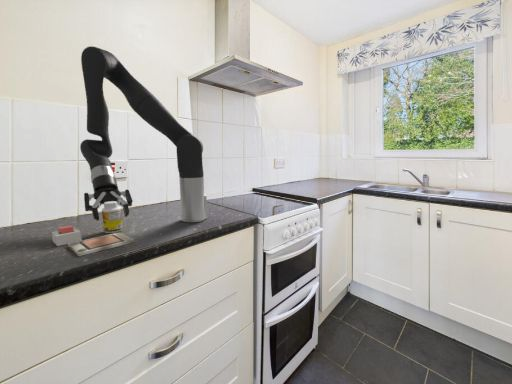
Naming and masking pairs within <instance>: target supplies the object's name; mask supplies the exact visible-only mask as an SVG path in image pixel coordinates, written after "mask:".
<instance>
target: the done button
mask: <svg viewBox="0 0 512 384" xmlns="http://www.w3.org/2000/svg"><path fill="white" fill-rule="evenodd" d="M57 228H58V231H59V234H65V233H70V232H74V231H73V228H74V226H73V225H71V224H69V225H63V226H58V227H57Z"/></svg>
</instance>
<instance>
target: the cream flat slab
mask: <svg viewBox="0 0 512 384" xmlns="http://www.w3.org/2000/svg"><path fill="white" fill-rule="evenodd" d="M132 243H135V239H134V238H132V237H130V236H128V235H127V234H126V235H125V234H124V233H121V231H120V232H117V233H108V234H106V235H101V236H95V237H92V238H88V239H82V241H78V242H73V243H68V244H67V247H68V248H69V249H70V250H71V251H73V252H74V253H75V255H77V256H78V257H82V256H85V255H90V254H92V253H94V254H95V253H97V252H101V251H105V250H108V249H113V248H116V247H122V246H125V245H128V244H132Z"/></svg>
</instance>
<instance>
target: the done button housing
mask: <svg viewBox="0 0 512 384" xmlns="http://www.w3.org/2000/svg"><path fill="white" fill-rule="evenodd" d="M73 231H74V232H70V233H65V234H59V230H56V231H51V238H52V242H53V244H55V245H56V246H57V247H60V246H64V245H68V243H73V242H78V241H82V240H83V238H82V231H81V230H79V229H78V228H76V227H73Z"/></svg>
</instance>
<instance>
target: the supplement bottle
mask: <svg viewBox="0 0 512 384" xmlns="http://www.w3.org/2000/svg"><path fill="white" fill-rule="evenodd" d="M103 207H104V208H102V210H101V214H102V215H101V216H102V224H103V225H102V226H103V232H104V234H114V233H119V232H120V233H121V232H122V230H123V221H122V220H123V219H122V218H123V217H122V209H121V208H122V207H121V206H119V205H118V204H117V202H116V201H110V202H105V203H104V204H103Z"/></svg>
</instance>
